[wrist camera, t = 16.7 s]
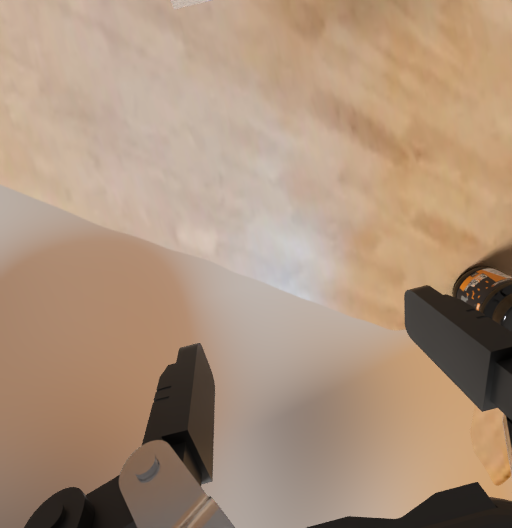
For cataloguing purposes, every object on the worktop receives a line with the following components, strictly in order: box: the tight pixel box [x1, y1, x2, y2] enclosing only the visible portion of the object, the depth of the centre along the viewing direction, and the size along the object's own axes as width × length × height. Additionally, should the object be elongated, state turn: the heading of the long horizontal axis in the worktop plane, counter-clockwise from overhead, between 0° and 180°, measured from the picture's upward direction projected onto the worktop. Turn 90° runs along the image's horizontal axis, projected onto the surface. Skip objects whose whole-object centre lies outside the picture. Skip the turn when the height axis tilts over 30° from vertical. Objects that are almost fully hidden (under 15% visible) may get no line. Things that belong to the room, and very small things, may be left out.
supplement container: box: [453, 266, 512, 332], centre depth 56 cm, size 10×10×12 cm
